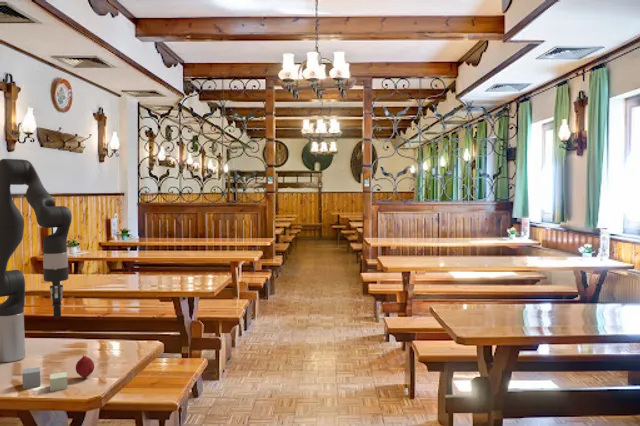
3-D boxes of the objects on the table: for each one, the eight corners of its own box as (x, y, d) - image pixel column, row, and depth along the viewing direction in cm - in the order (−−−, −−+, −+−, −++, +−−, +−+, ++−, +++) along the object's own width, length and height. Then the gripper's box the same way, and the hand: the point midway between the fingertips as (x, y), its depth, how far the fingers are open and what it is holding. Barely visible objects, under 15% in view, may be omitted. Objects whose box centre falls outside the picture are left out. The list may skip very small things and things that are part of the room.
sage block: (50, 391, 177) (49, 379, 177) (50, 386, 182) (50, 374, 182) (67, 389, 179) (67, 376, 179) (67, 384, 184) (67, 372, 184)
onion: (98, 375, 191) (97, 352, 191) (86, 381, 186) (85, 357, 185) (84, 374, 193) (83, 351, 192) (72, 379, 187) (71, 356, 187)
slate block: (22, 389, 180) (22, 373, 179) (23, 384, 184) (23, 369, 184) (40, 386, 182) (39, 371, 181) (40, 381, 186) (40, 366, 186)
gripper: (44, 264, 191) (45, 314, 192) (42, 269, 179) (44, 323, 180) (68, 262, 194) (69, 312, 195) (68, 268, 182) (69, 320, 183)
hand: (57, 317), depth 188 cm, fingers closed
